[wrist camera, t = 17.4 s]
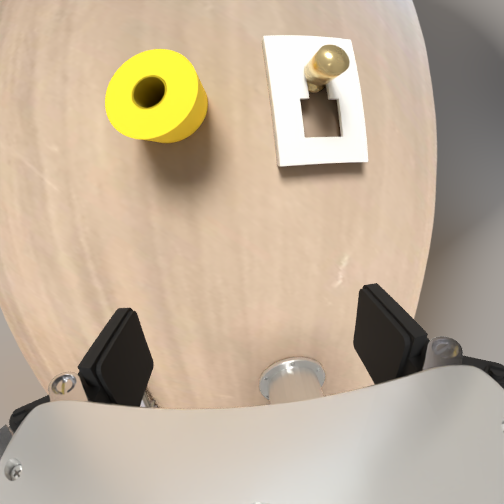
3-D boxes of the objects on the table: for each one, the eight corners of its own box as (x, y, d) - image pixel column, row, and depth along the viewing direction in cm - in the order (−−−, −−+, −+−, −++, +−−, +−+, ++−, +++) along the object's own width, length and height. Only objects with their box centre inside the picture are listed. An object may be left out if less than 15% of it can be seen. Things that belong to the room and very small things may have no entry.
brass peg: (327, 92, 31) (354, 76, 22) (298, 92, 31) (318, 74, 22) (323, 67, 30) (347, 44, 21) (294, 66, 29) (312, 41, 21)
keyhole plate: (360, 161, 34) (368, 161, 32) (277, 165, 34) (280, 166, 32) (344, 45, 28) (350, 39, 26) (261, 42, 28) (263, 35, 26)
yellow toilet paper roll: (127, 92, 29) (96, 76, 20) (194, 62, 29) (182, 35, 20) (148, 154, 33) (120, 155, 24) (217, 126, 32) (211, 115, 23)
